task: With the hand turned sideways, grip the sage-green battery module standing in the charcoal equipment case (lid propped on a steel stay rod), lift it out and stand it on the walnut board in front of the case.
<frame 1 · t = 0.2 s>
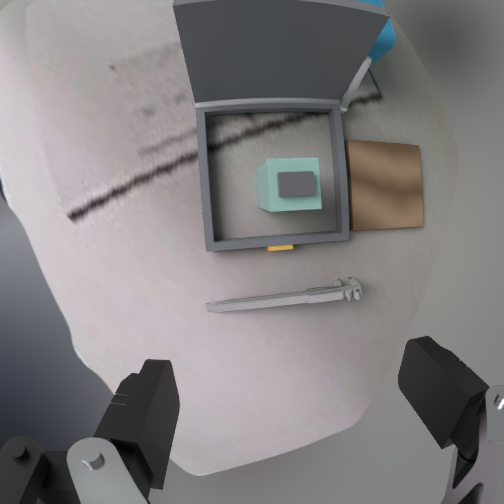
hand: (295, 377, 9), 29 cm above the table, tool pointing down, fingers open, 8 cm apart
equipment case: (273, 172, 35), on the table
battery module: (274, 187, 36), resting in equipment case
caliper: (280, 293, 39), on the table
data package: (335, 43, 32), on the table
walnut board: (386, 185, 36), on the table
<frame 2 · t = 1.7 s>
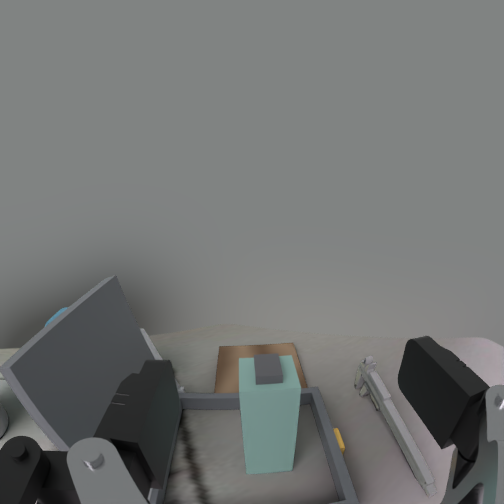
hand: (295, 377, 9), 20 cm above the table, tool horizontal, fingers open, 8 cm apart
equipment case: (248, 457, 24), on the table
battery module: (267, 456, 24), resting in equipment case
caliper: (390, 437, 24), on the table
walnut board: (258, 371, 39), on the table
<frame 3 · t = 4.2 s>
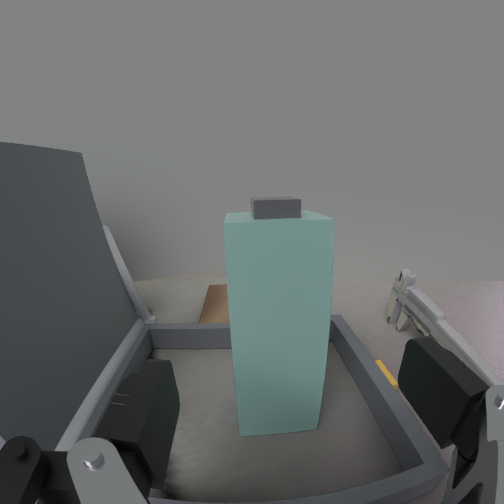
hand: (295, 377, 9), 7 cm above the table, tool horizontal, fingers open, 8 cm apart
equipment case: (243, 410, 16), on the table
battery module: (275, 409, 16), resting in equipment case
caliper: (449, 376, 17), on the table
walnut board: (258, 309, 32), on the table
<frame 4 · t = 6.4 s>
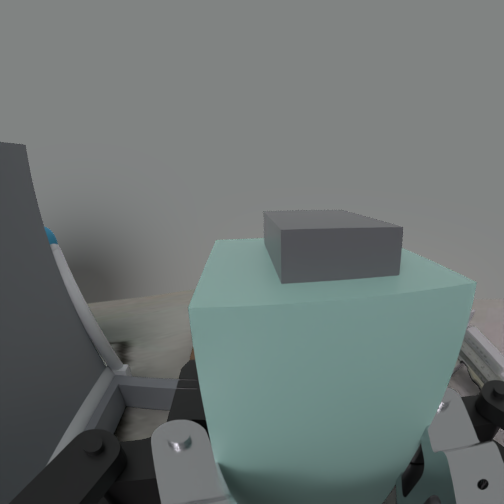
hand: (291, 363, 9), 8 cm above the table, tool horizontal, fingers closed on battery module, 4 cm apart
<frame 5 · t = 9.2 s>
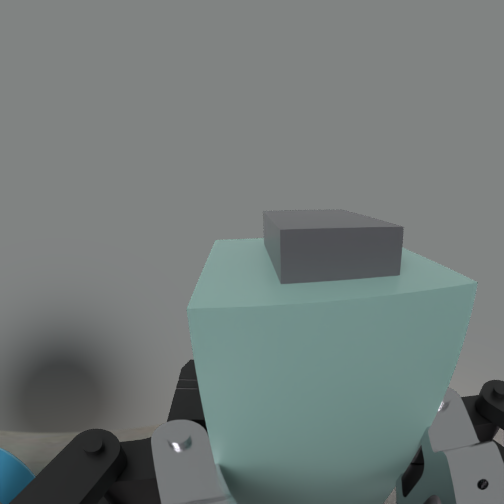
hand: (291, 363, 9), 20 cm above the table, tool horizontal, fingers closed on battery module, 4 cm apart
when the fingers open (9 cm above the table, at t = 12.0 s): battery module stays where it is, resting on walnut board.
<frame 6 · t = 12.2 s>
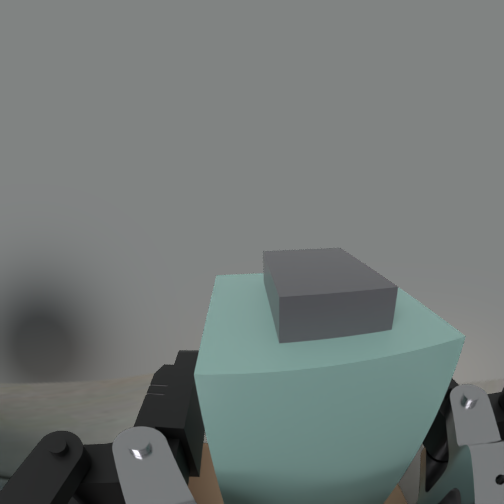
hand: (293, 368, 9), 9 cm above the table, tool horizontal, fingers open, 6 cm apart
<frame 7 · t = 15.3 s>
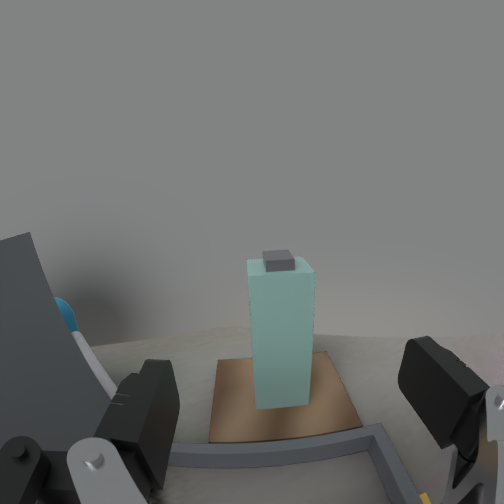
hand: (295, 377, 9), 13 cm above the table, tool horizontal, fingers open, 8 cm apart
battery module: (279, 391, 24), point 1 cm above the table, touching walnut board
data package: (53, 419, 19), on the table
walnut board: (279, 398, 24), on the table
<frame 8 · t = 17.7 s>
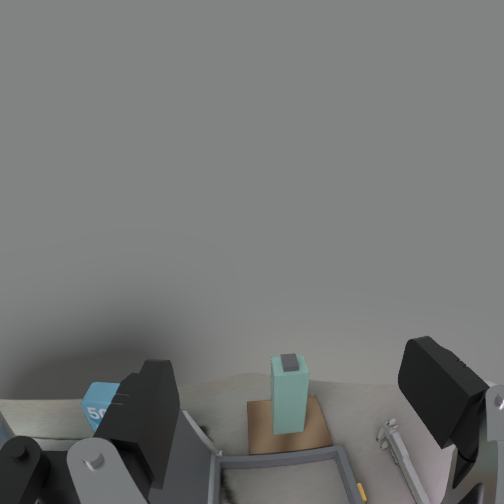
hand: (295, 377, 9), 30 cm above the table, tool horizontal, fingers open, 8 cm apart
battery module: (286, 423, 39), point 1 cm above the table, touching walnut board
caliper: (405, 485, 24), on the table
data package: (144, 449, 33), on the table
walnut board: (286, 427, 39), on the table
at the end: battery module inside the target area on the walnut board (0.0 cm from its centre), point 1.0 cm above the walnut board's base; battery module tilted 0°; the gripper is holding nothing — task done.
